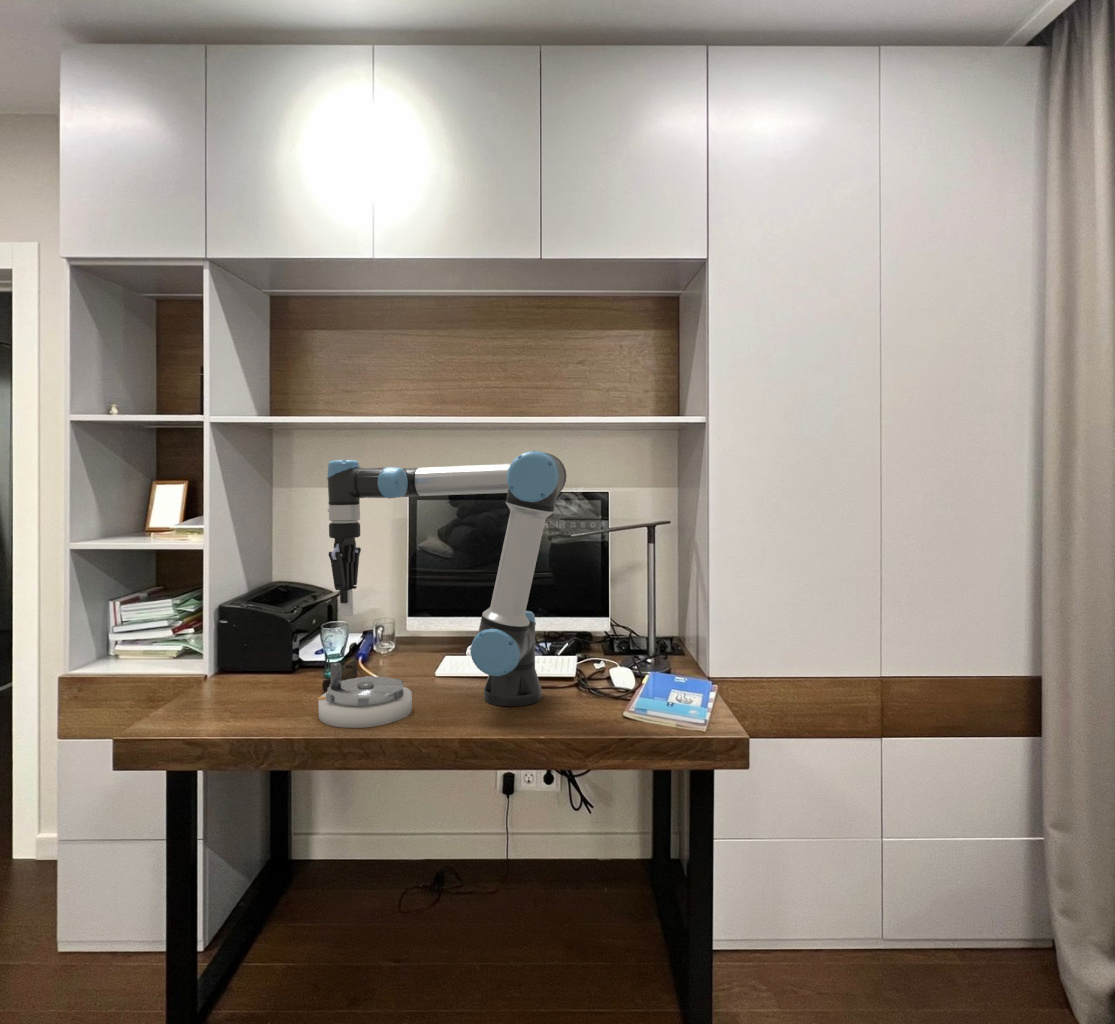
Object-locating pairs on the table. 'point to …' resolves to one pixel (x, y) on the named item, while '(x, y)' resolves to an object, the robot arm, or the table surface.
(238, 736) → the table surface
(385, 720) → the housing
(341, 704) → the grey disc with handle
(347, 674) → the hand tool
